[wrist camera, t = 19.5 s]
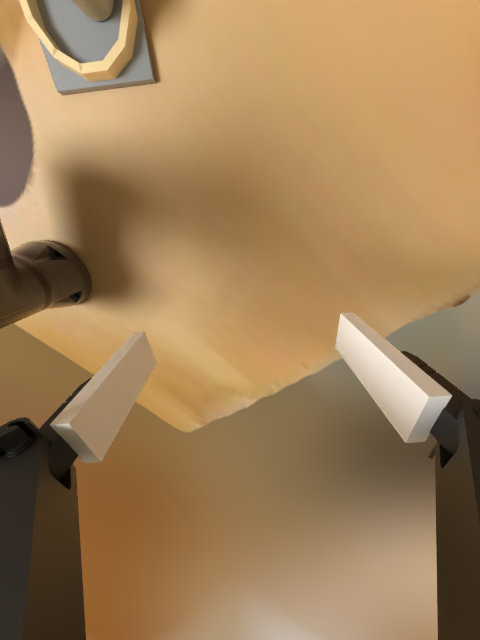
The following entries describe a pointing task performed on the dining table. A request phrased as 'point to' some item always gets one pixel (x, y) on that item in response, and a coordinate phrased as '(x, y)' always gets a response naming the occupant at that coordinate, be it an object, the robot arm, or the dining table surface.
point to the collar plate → (92, 45)
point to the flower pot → (95, 8)
